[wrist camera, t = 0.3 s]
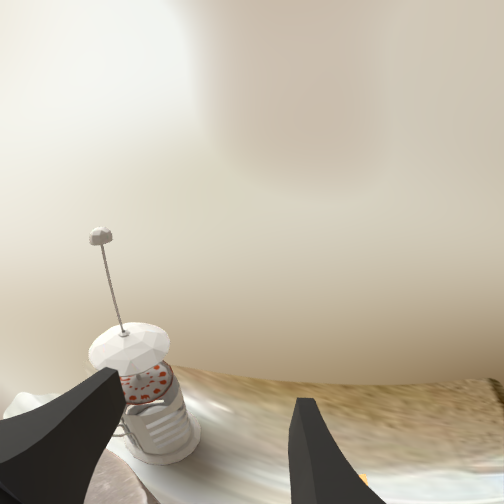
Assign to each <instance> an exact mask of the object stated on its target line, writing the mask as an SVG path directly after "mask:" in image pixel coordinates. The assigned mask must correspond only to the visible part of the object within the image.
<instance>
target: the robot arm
mask: <svg viewBox="0 0 504 504" xmlns="http://www.w3.org/2000/svg"><path fill="white" fill-rule="evenodd" d="M125 406H126V399H125V396H124V392H123V388H122V384H121V380H120V376H119V372H118V370H116V369H112V368H109V367H104V368H103V369H101V370H100V371H98V372H97V373H95V374H94V375H92V376H91V377H89V378H88V379H86V380H85V381H83V382H82V383H80V384H79V385H77V386H76V387H74V388H73V389H71V390H70V391H68V392H66V393H64V394H63V395H61V396H59V397H58V398H56V399H54V400H52V401H51V402H49V403H47V404H45V405H43V406H41V407H38V408H36V409H34V410H32V411H29V412H26V413H23V414H20V415H17V416H14V417H11V418H8V419H4V420H0V504H84V500H85V497H86V493H87V490H88V487H89V484H90V481H91V478H92V475H93V473H94V470H95V467H96V465H97V463H98V461H99V459H100V457H101V455H102V453H103V451H104V450H105V448H106V446H107V444H108V442H109V441H110V439H111V437H112V435H113V433H114V431H115V430H116V428H117V426H118V424H119V422H120V420H121V417H122V414H123V412H124V409H125ZM288 457H289V471H290V485H291V504H386V503H385V502H384V501H383V500H382V499H381V498H380V497H379V496H378V495H376V494H375V493H374V492H373V491H372V490H371V489H370V488H369V487H368V486H367V485H366V483H365V482H364V481H363V480H362V479H361V478H360V477H359V475H358V474H357V473H356V472H355V470H354V469H353V468H352V467H351V465H350V464H349V462H348V461H347V460H346V458H345V457H344V455H343V454H342V452H341V451H340V449H339V447H338V446H337V444H336V442H335V441H334V439H333V437H332V435H331V434H330V432H329V430H328V428H327V426H326V424H325V422H324V420H323V418H322V416H321V414H320V411H319V409H318V407H317V404H316V401H315V400H314V399H313V398H297V400H296V404H295V408H294V412H293V416H292V420H291V424H290V428H289V442H288Z"/></svg>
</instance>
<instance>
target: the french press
mask: <svg viewBox="0 0 504 504" xmlns="http://www.w3.org/2000/svg"><path fill="white" fill-rule="evenodd" d="M89 238H90V239H89V240H90V243H91V245H101V249H102V254H103V259H104V264H105V268H106V273H107V277H108V281H109V285H110V289H111V293H112V297H113V301H114V305H115V308H116V312H117V316H118V319H119V323H120V325H117V326H113V327H111V328H110V329H109V330H107V331H106V332H104V333H103V334H102V335H100V336H99V337H98V338H97V339H96V340H95V341H94V342H93V344H92V346H91V347H90V349H89V360H90V362H91V363H92V365H93V366H94V368H95V369H96V370H98V371H100V370H101V369H103V368H104V367H109V368H112V369H116V370H118V372H119V376H120V380H121V384H122V388H123V392H124V396H125V399H126V406H125V409H124V412H123V414H122V418H121V420H120V422H121V424H118V426H122V428H123V430H124V433H123V434H119V435H112V437H122V436H123V437H124V442H125V446H126V448H127V449H128V450H129V452H130V453H131V454H132V455H133V456H134V457H135V458H137V459H139V460H141V461H143V462H145V463H147V464H156V465H167V464H171V463H175V462H179V461H181V460H182V459H184V458H185V457H187V456H188V455H190V454H191V453H192V452H193V451H194V450H195V448H196V446H197V445H198V443H199V441H200V435H201V427H200V425H199V423H198V421H197V418H196V417H195V416H194V415H192V414H191V413H190V412H189V411H188V410H186V409H185V408H186V406H185V403H184V400H183V395H182V392H181V389H180V385H179V383H178V380H177V378H176V376H175V375H174V373H173V371H172V369H171V366H170V365H168V364H167V363H166V362H165V361H163V360H162V359H163V358H164V357H165V356H166V354H167V353H168V349H169V346H170V340H169V338H168V335H167V333H166V332H165V331H164V330H162V329H161V328H159V327H158V326H155V325H151V324H147V323H131V322H129V323H126V324H122V323H121V319H120V315H119V312H118V308H117V304H116V301H115V297H114V293H113V288H112V285H111V280H110V276H109V271H108V267H107V262H106V257H105V253H104V247H103V244H106V243H108V242H110V241H112V233H111V231H110V230H109V229H108V228H106V227H99V228H96V229H93V231H92V232H91V234H90V237H89ZM155 400H164V402H163V403H151V404H146V403H150V402H153V401H155ZM129 405H134V406H133V407H132V408H130V409H129V410H128V413H127V414H125V412H126V409H127V407H128V406H129ZM124 421H125V423H126V425H125V423H124ZM118 426H117V427H118Z"/></svg>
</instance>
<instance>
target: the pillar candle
mask: <svg viewBox="0 0 504 504" xmlns="http://www.w3.org/2000/svg"><path fill="white" fill-rule="evenodd" d="M84 504H160V503H159V502H158V501H157V499H156V498H155V497H154V496H153V495H152V494H151V493H150V491H149V490H148V489H147V488H146V487H145V485H144V484H143V483H142V482H141V481H140V479H139V478H138V477H137V475H136V474H135V473H134V471H133V470H132V469H131V468H130V467H129V465H128V464H127V463H126V462H125V461H123V460H122V459H121V458H120V457H119V456H117V455H116V454H114V453H113V452H111V451H109V450H108V449H106V448H105V450H104V451H103V453H102V455H101V457H100V459H99V461H98V463H97V465H96V467H95V470H94V473H93V475H92V478H91V481H90V484H89V487H88V490H87V493H86V497H85V500H84Z"/></svg>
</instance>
